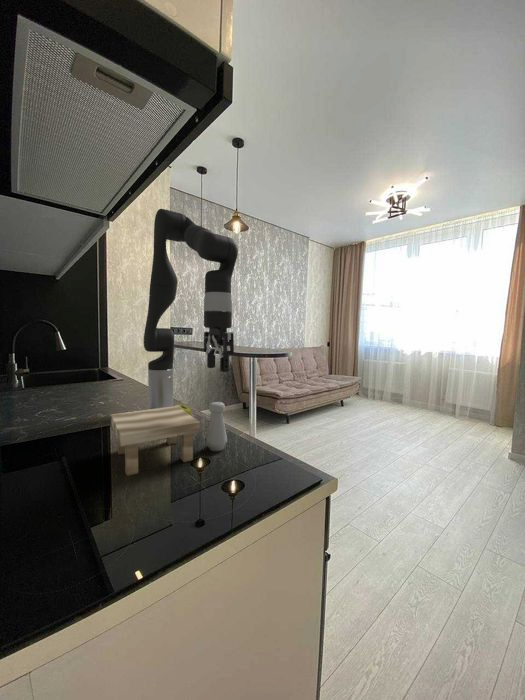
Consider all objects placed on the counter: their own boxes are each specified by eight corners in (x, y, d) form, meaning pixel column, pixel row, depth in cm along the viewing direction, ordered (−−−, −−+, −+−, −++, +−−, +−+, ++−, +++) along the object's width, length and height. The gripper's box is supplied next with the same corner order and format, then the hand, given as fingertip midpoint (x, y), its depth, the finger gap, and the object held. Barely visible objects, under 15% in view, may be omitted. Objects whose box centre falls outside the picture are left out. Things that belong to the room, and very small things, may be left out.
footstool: (111, 450, 79) (110, 414, 78) (177, 438, 89) (177, 405, 88) (121, 480, 64) (120, 435, 63) (199, 460, 74) (199, 422, 73)
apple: (159, 429, 92) (165, 398, 95) (174, 429, 100) (179, 400, 102) (180, 433, 90) (186, 401, 92) (194, 433, 97) (199, 403, 99)
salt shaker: (215, 442, 86) (216, 399, 85) (231, 447, 83) (231, 402, 82) (201, 449, 81) (202, 403, 80) (218, 454, 78) (218, 406, 77)
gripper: (195, 311, 83) (195, 367, 84) (216, 308, 71) (215, 374, 72) (219, 312, 87) (218, 366, 88) (243, 309, 75) (242, 372, 76)
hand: (217, 369), depth 80 cm, fingers open, 8 cm apart
